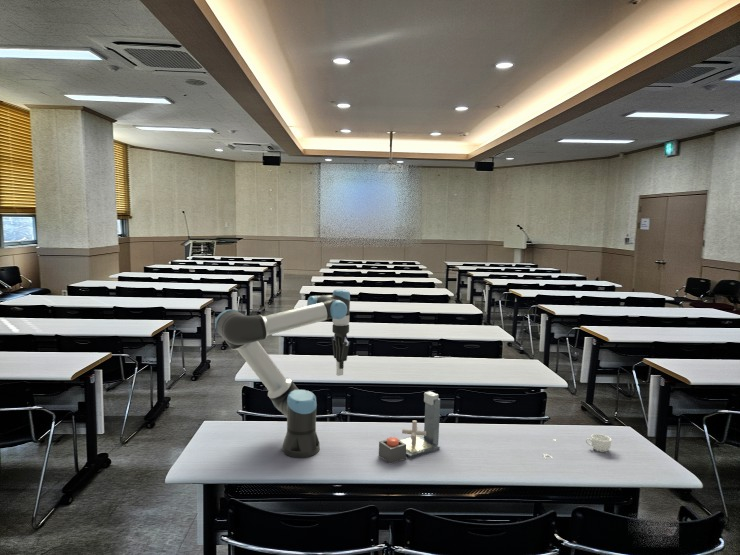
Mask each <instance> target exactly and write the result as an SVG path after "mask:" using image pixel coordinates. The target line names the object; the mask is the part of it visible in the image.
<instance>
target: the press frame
mask: <svg viewBox="0 0 740 555" xmlns="http://www.w3.org/2000/svg"><path fill="white" fill-rule="evenodd" d="M423 402H424V403H425V404H424V426H423V427H424V429H423V431H426V436H422V435H416V445H412V439H411V435H410V436H407V437H403V438H398V439H399V440H400V441H401V442H403V443H405V444H406V459H409V460H413V459H415V458H419V457H421V456H425V455H427V454H431V453H434V452H436V451H440V448H441V447H440V445H439V437H440V436H439V435H440V434H439V433H440V416H441V415H440V414H441V412H440V411H441V399H440V398H439V394H438V393H436V392H433V391H432V390H431V391H430V390H429V391H426V392H424V393H423Z"/></svg>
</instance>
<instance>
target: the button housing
mask: <svg viewBox="0 0 740 555" xmlns="http://www.w3.org/2000/svg"><path fill="white" fill-rule="evenodd" d="M394 438H396V437H394ZM378 457H380V458H381V459H383V460H384V461H386V462H387V463H388V464H390V465H391V464H394V463H397V462H401V461H403V460H406V459H407V457H406V444H405V443H403V442H401V441H400V440H399V445H398V446H395V447H390V446H388V445H387V439H384V440H379V441H378Z"/></svg>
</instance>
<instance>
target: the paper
mask: <svg viewBox="0 0 740 555" xmlns="http://www.w3.org/2000/svg"><path fill="white" fill-rule="evenodd" d="M552 440H553V441H554V442H557V441H556V440H557V439H554V438H553V439H552ZM542 457H543V458H544V459H545V460H547V459H548V457H550V458H551V459H552V460H553V459H554V457H553V456H552V455H551V454H548V453H543V454H542Z"/></svg>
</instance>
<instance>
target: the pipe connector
mask: <svg viewBox="0 0 740 555" xmlns="http://www.w3.org/2000/svg"><path fill="white" fill-rule="evenodd" d="M411 423H412V425H411V428H412V429H406V428H402V429H401V433H402V434H406V435H410V436H411V439H412V445H416V435H420V436H422V437H424V436H426V431H424V430H418V424H417V423H418V421H417V420H412V422H411Z"/></svg>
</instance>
